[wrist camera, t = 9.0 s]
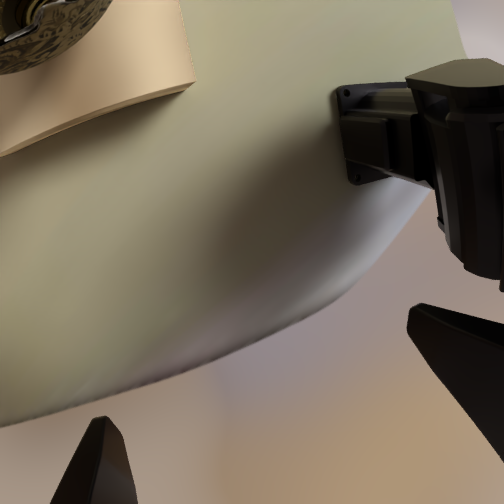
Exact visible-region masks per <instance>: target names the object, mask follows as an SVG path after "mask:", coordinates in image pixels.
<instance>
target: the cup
mask: <svg viewBox="0 0 504 504" xmlns="http://www.w3.org/2000/svg"><path fill="white" fill-rule="evenodd" d="M49 1H50V0H0V75H6V74H12V73H16V72H20V71H24V70H27V69H30V68H33V67H36V66H39V65H41V64H43V63H45V62H48V61H49V60H51V59H53V58H55V57H57V56H58V55H60V54H62V53H63V52H65V51H66V50H68V49H69V48H70V47H72V46H73V45H74V44H76V43H77V42H78V41H79V40H80V39H82V38H83V37H84V36H85V35H86V34H87V33H88V32H89V31H90V30H91V29H92V28H93V27H94V26H95V25H96V23H97V22H98V21H99V20H100V19H101V17H102V16H103V15H104V13H105V12H106V10H107V9H108V7H109V6H110V4H111V2H112V1H113V0H57V1H56V2H53V3H50V4H46V3H47V2H49ZM45 4H46V5H45Z"/></svg>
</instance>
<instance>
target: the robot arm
mask: <svg viewBox="0 0 504 504" xmlns="http://www.w3.org/2000/svg"><path fill="white" fill-rule="evenodd" d="M405 79H406V82H386V83H368V84H354V85H343V86H339V87H338V88H337V91H336V94H337V100H338V106H339V112H340V127H341V134H342V141H343V149H344V157H345V158H346V163H347V172H348V179H349V182H350V183H351V184H353V185H356V186H357V185H362V184H366V183H369V182H373V181H377V180H380V179H384V178H388V177H391V176H394V177H397V178H400V179H404V180H407V181H410V182H413V183H415V184H418V185H421V186H424V187H427V188H430V189H433V190H435V195H436V202H437V208H438V215H439V216H438V217H437V220H438V226H439V228H440V229H441V230H442V231H443V232H444V233H445V237H446V241H447V244H448V246H449V248H450V251H451V252H452V253H453V254H454V255H455V256H456V257H457V258H458V259H459V260H460V261H461V262H462V263H463V264H464V269H465V270H466V271H469V272H471V273H473V274H475V275H477V276H480V277H484V278H488V279H492V280H500V285H499V290H500V291H501V292H504V65H501V64H499V63H497V62H495V61H493V60H491V59H487V58H481V59H462V60H453V61H450V62H447V63H444V64H441V65H438V66H435V67H432V68H429V69H426V70H423V71H420V72H418V73H415V74H412V75H409V76H407V77H405ZM407 87H408V88H407ZM344 90H345V91H346V93H347V94H346V96H344V94H343V91H344ZM356 175H357V176H358V177H357V179H356V180H355V176H356ZM407 333H408V335H409V337H410V338H411V340H412V341H413V343H414V344H415V346H416V347H417V348H418V350H419V351H420V353H421V354H422V356H423V357H424V359H425V360H426V362H427V364H428V365H429V366H430V368H431V369H432V371H433V372H434V373H435V374H436V376H437V377H438V378H439V379H440V381H441V382H442V383H443V384H444V385H445V387H446V388H447V389H448V390H449V391H450V393H451V394H452V395H453V397H454V398H455V399H456V400H457V402H458V403H459V404H460V405H461V407H462V408H463V409H464V410H465V412H466V413H467V414H468V416H469V417H470V418H471V419H472V421H473V422H474V423H475V425H476V426H477V427H478V428H479V430H480V431H481V432H482V434H483V435H484V436H485V438H486V439H487V440H488V442H489V443H490V444H491V446H492V447H493V448H494V450H495V451H496V452H497V454H498V455H499V456H500V458H501V460H502V461H503V462H504V324H502V323H498V322H494V321H490V320H486V319H482V318H478V317H474V316H470V315H467V314H463V313H459V312H455V311H451V310H447V309H444V308H440V307H436V306H432V305H428V304H424V303H419V304H417V305H415V306H413V307H412V308H410V310H409V315H408V322H407ZM50 504H138V501H137V495H136V489H135V484H134V480H133V476H132V473H131V469H130V465H129V461H128V457H127V452H126V448H125V444H124V439H123V436H122V434H121V432H120V431H119V430H118V428H117V427H116V426H115V425H114V424H113V422H112V421H111V420H110V418H109V417H107V416H101V417H96V418H93V419H92V420H91V422H90V424H89V426H88V428H87V430H86V432H85V434H84V436H83V437H82V439H81V441H80V443H79V445H78V447H77V449H76V451H75V453H74V455H73V457H72V459H71V461H70V463H69V465H68V467H67V469H66V471H65V473H64V475H63V477H62V479H61V481H60V483H59V486H58V488H57V490H56V492H55V494H54V496H53V498H52V500H51V502H50Z"/></svg>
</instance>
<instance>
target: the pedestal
mask: <svg viewBox="0 0 504 504" xmlns="http://www.w3.org/2000/svg"><path fill="white" fill-rule="evenodd" d="M56 1H57V0H50V1H49V2H47V3H46V4H50V3H53V2H56ZM46 4H45V5H46ZM195 82H196V77H195V73H194V68H193V64H192V59H191V55H190V50H189V46H188V41H187V37H186V32H185V28H184V23H183V19H182V14H181V10H180V5H179V0H113V1H112V2H111V4H110V6H109V7H108V9H107V10H106V12H105V13H104V15H103V16H102V17H101V19H100V20H99V21H98V22H97V23H96V25H95V26H94V27H93V28H92V29H91V30H90V31H89V32H88V33H87V34H86V35H85V36H84V37H83V38H82V39H80V40H79V41H78V42H77V43H76V44H74V45H73V46H72V47H70V48H69V49H68V50H66V51H65V52H63V53H62V54H60V55H58V56H57V57H55V58H53V59H51V60H49V61H48V62H45V63H43V64H41V65H39V66H36V67H33V68H30V69H27V70H24V71H20V72H16V73H12V74H6V75H0V157H2V156H5V155H8V154H11V153H14V152H16V151H18V150H20V149H22V148H24V147H27V146H29V145H31V144H33V143H35V142H37V141H39V140H42V139H44V138H46V137H48V136H51V135H53V134H55V133H58V132H60V131H62V130H65V129H67V128H70V127H72V126H75V125H77V124H80V123H82V122H85V121H87V120H90V119H93V118H95V117H98V116H101V115H104V114H107V113H109V112H112V111H115V110H118V109H121V108H124V107H127V106H131V105H134V104H137V103H140V102H144V101H147V100H150V99H154V98H157V97H161V96H165V95H168V94H172V93H176V92H180V91H184V90H186V89H187V88H188V87H190V86H191V85H192V84H193V83H195Z"/></svg>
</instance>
